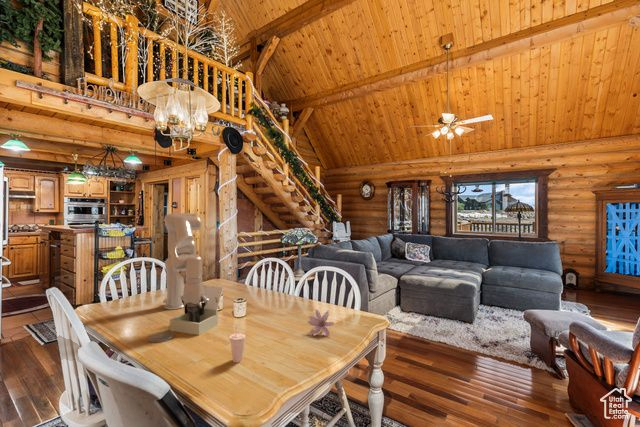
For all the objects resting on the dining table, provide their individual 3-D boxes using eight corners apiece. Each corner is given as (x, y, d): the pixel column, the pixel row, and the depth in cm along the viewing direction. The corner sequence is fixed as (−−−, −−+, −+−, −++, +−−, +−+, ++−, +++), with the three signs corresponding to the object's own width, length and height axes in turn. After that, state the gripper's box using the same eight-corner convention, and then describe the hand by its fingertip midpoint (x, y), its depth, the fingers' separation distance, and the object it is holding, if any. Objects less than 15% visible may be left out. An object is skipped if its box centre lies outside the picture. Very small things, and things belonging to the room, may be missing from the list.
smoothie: (231, 356, 123) (231, 322, 123) (247, 355, 124) (246, 322, 124) (227, 364, 117) (227, 328, 117) (244, 363, 117) (244, 328, 117)
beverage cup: (205, 325, 156) (204, 287, 156) (195, 331, 150) (194, 291, 149) (193, 324, 159) (193, 286, 159) (183, 329, 152) (183, 290, 152)
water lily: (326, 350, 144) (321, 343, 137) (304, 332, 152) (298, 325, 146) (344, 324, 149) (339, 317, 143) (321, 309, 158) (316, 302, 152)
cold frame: (170, 330, 150) (169, 293, 150) (196, 317, 168) (196, 284, 168) (199, 335, 145) (198, 296, 145) (223, 321, 163) (223, 286, 162)
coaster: (142, 340, 138) (142, 339, 138) (162, 331, 149) (162, 330, 149) (161, 344, 135) (161, 342, 135) (179, 334, 145) (179, 333, 145)
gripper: (175, 280, 153) (175, 314, 153) (202, 283, 148) (203, 318, 148) (186, 277, 160) (186, 309, 161) (212, 280, 155) (213, 313, 155)
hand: (194, 313), depth 154 cm, fingers open, 8 cm apart
